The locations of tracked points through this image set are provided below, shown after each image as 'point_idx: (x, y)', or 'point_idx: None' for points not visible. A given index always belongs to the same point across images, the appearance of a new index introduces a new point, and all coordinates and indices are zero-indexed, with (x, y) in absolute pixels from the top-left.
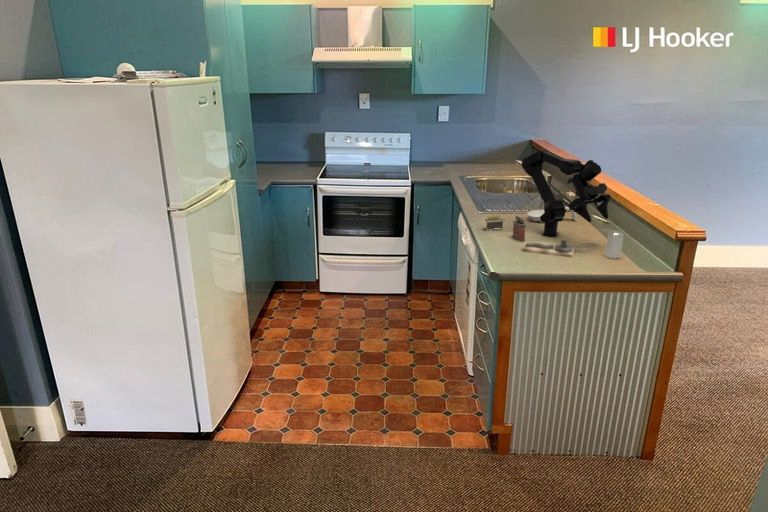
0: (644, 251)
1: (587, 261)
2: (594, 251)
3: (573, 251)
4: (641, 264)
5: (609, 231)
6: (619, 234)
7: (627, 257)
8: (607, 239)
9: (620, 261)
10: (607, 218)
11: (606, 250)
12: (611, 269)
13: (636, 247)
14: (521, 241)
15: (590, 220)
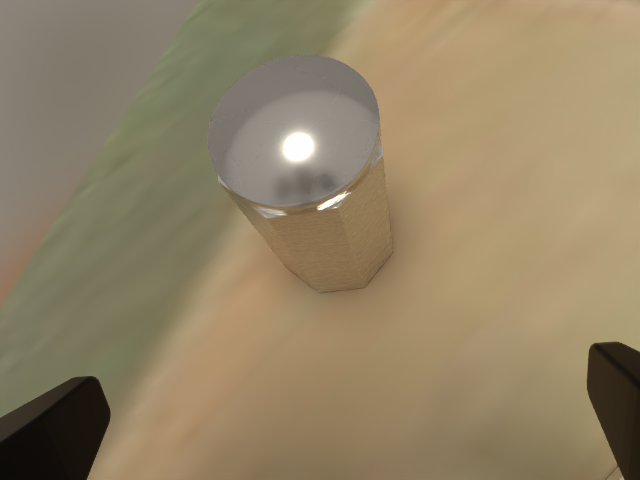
0: (50, 244)
1: (617, 222)
2: (381, 403)
3: (613, 476)
4: None
5: (327, 188)
6: (312, 63)
7: None
8: (347, 238)
9: None
10: (96, 381)
11: (381, 245)
12: (538, 50)
13: (12, 334)
14: None
15: (629, 352)
